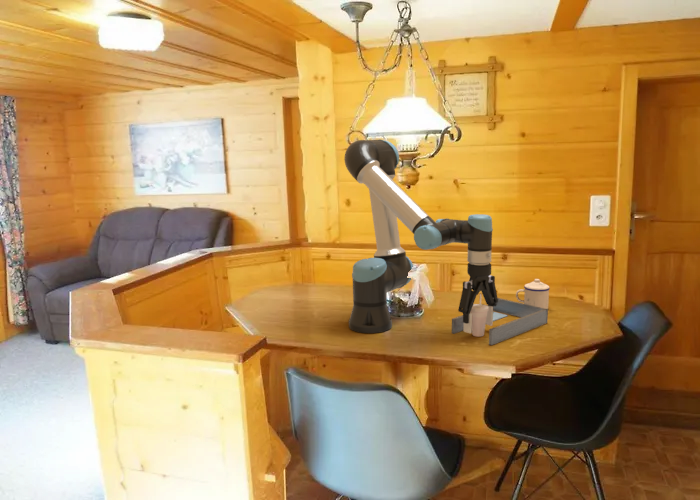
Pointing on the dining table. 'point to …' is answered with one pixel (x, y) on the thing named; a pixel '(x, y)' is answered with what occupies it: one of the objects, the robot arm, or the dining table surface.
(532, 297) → the teacup with lid
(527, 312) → the channel
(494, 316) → the pad
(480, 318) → the smoothie
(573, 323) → the dining table surface
